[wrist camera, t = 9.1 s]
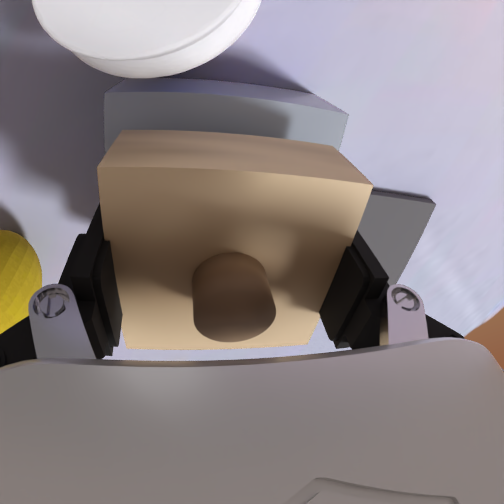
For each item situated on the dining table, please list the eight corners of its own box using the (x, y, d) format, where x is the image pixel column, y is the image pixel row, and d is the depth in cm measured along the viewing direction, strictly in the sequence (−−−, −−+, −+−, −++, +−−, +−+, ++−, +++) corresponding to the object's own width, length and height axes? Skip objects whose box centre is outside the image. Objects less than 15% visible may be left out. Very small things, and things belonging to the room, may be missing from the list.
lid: (289, 291, 14) (317, 373, 11) (133, 291, 13) (124, 380, 10) (332, 145, 10) (399, 212, 7) (122, 129, 9) (79, 196, 5)
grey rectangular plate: (376, 308, 26) (378, 313, 26) (291, 314, 24) (293, 319, 24) (431, 199, 19) (436, 204, 19) (334, 185, 18) (338, 190, 17)
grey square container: (279, 240, 19) (297, 286, 16) (129, 236, 17) (119, 285, 14) (314, 94, 14) (348, 114, 11) (126, 78, 12) (104, 93, 9)
